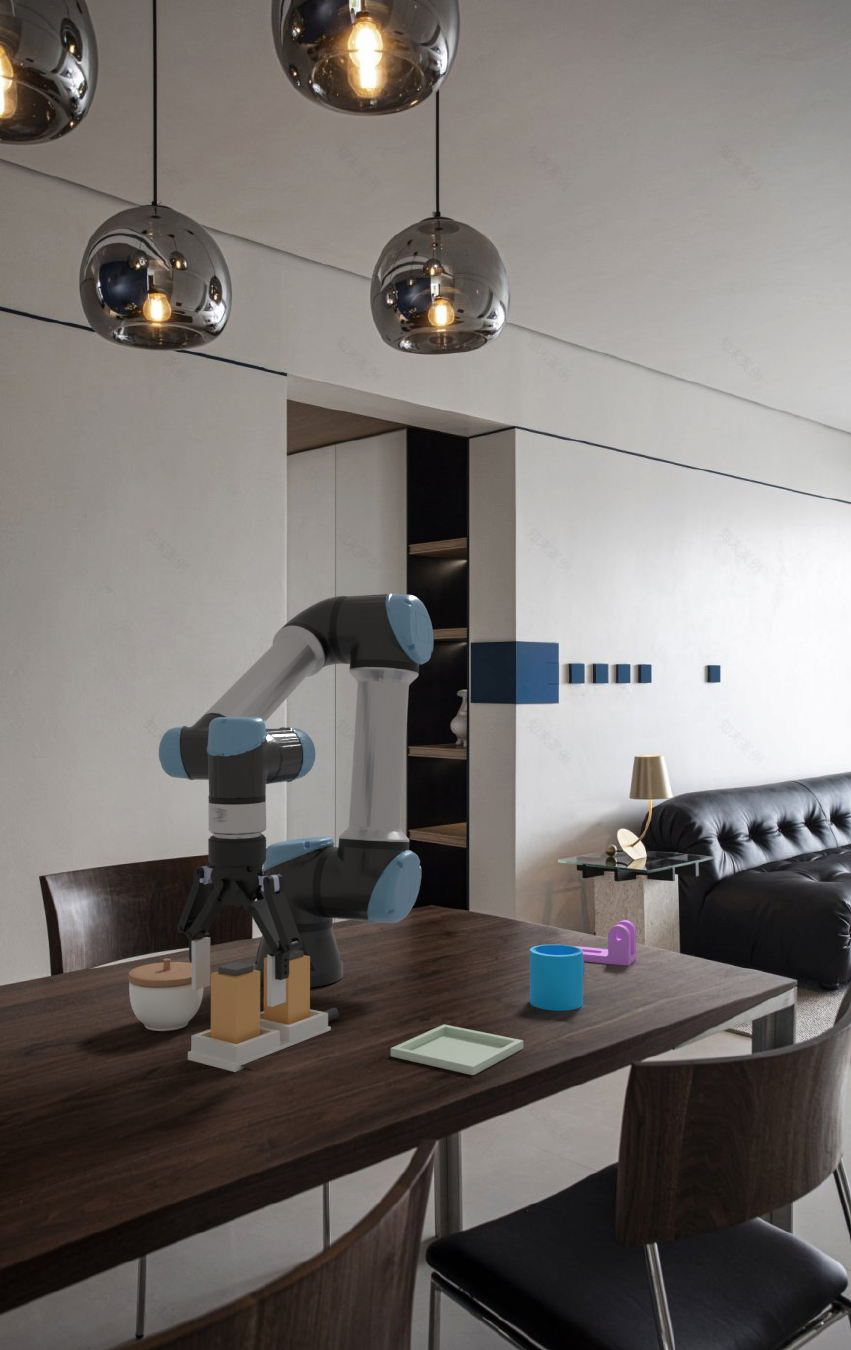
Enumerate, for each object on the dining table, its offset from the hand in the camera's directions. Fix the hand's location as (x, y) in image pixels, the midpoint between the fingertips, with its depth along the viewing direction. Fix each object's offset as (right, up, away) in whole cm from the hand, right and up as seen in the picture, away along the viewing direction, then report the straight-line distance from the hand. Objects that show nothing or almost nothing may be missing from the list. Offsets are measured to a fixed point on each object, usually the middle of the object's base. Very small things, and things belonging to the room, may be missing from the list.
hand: (237, 995), depth 145 cm
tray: (+29, -8, 0) cm, 30 cm away
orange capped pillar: (0, -7, -1) cm, 7 cm away
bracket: (+56, -9, +54) cm, 78 cm away
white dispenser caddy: (+4, -8, +6) cm, 11 cm away
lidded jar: (-13, -8, +13) cm, 20 cm away
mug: (+46, -9, +27) cm, 54 cm away
